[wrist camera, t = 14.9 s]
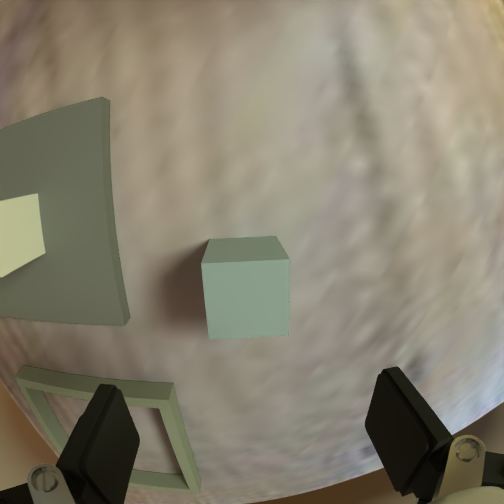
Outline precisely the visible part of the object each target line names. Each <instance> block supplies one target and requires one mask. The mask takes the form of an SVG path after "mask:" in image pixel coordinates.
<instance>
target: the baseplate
mask: <svg viewBox="0 0 504 504" xmlns="http://www.w3.org/2000/svg"><path fill="white" fill-rule="evenodd" d="M37 193H38V200H39V210H40V219H41V227H42V234H43V241H44V247H45V254H43V255H41V256H39V257H37V258H35V259H34V260H32V261H30V262H28V263H26V264H25V265H23V266H21V267H19V268H17V269H16V270H14V271H12V272H10V273H9V274H7V275H5V276H4V277H0V317H8V318H17V319H26V320H36V321H48V322H61V323H75V324H93V325H118V326H125V325H126V323H127V322H128V320H129V319H130V313H129V308H128V303H127V298H126V293H125V287H124V282H123V276H122V270H121V264H120V257H119V250H118V243H117V235H116V227H115V218H114V208H113V196H112V183H111V165H110V101H109V100H107V99H105V98H103V97H100V98H96V99H92V100H88V101H84V102H80V103H76V104H73V105H69V106H66V107H62V108H59V109H56V110H52V111H49V112H46V113H43V114H40V115H37V116H34V117H31V118H29V119H26V120H23V121H21V122H18V123H15V124H13V125H10V126H8V127H5V128H3V129H1V130H0V201H1V200H6V199H11V198H16V197H21V196H26V195H31V194H37Z"/></svg>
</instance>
